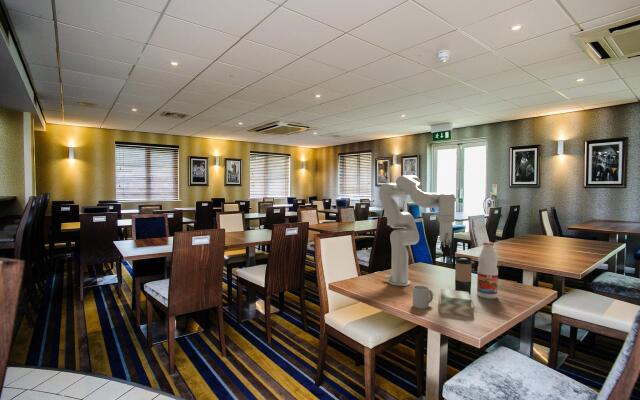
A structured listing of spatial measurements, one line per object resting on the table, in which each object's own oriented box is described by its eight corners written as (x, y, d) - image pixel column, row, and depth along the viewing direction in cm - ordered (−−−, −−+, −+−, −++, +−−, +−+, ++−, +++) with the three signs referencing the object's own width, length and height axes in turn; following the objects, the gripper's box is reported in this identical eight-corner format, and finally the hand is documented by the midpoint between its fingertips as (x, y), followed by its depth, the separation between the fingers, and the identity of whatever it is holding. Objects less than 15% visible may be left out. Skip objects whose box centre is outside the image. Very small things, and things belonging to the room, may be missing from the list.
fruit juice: (496, 294, 172) (497, 241, 171) (498, 300, 163) (499, 244, 162) (476, 292, 176) (477, 240, 175) (477, 297, 167) (478, 243, 166)
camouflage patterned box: (439, 312, 146) (439, 297, 146) (438, 302, 159) (438, 288, 159) (473, 316, 141) (474, 300, 141) (470, 305, 155) (470, 291, 154)
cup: (409, 304, 156) (410, 286, 156) (427, 302, 159) (428, 284, 158) (418, 309, 149) (418, 290, 149) (437, 307, 152) (437, 288, 151)
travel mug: (470, 295, 171) (470, 257, 170) (471, 299, 164) (472, 260, 163) (454, 293, 173) (455, 255, 173) (455, 297, 166) (456, 258, 166)
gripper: (436, 217, 169) (436, 250, 169) (439, 219, 152) (438, 256, 153) (452, 217, 167) (451, 251, 167) (456, 220, 150) (456, 257, 151)
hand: (445, 253), depth 160 cm, fingers open, 9 cm apart
